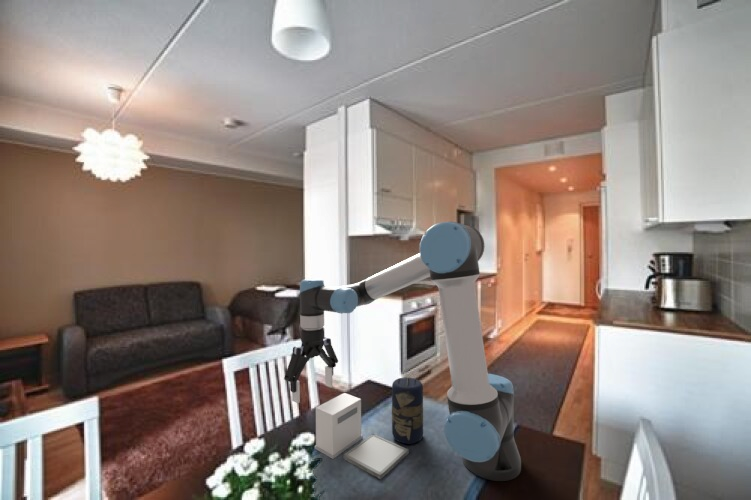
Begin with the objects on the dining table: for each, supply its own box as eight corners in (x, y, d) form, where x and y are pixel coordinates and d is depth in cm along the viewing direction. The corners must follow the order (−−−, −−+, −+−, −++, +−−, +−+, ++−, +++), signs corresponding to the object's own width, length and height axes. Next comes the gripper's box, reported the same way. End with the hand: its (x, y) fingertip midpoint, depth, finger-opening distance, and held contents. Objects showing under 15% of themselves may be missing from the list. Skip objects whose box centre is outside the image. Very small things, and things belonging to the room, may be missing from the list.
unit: (362, 437, 100) (362, 398, 100) (333, 459, 90) (332, 416, 90) (344, 429, 105) (344, 392, 105) (314, 448, 95) (314, 407, 95)
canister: (387, 442, 98) (387, 382, 97) (397, 426, 106) (397, 371, 106) (419, 449, 94) (418, 387, 94) (426, 432, 103) (426, 375, 103)
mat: (408, 453, 92) (408, 449, 92) (380, 479, 82) (380, 475, 82) (372, 436, 100) (372, 433, 100) (343, 458, 90) (343, 454, 90)
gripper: (332, 318, 116) (333, 377, 117) (271, 334, 97) (272, 405, 97) (347, 321, 112) (348, 383, 112) (287, 338, 92) (288, 413, 92)
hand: (313, 393), depth 105 cm, fingers open, 13 cm apart
